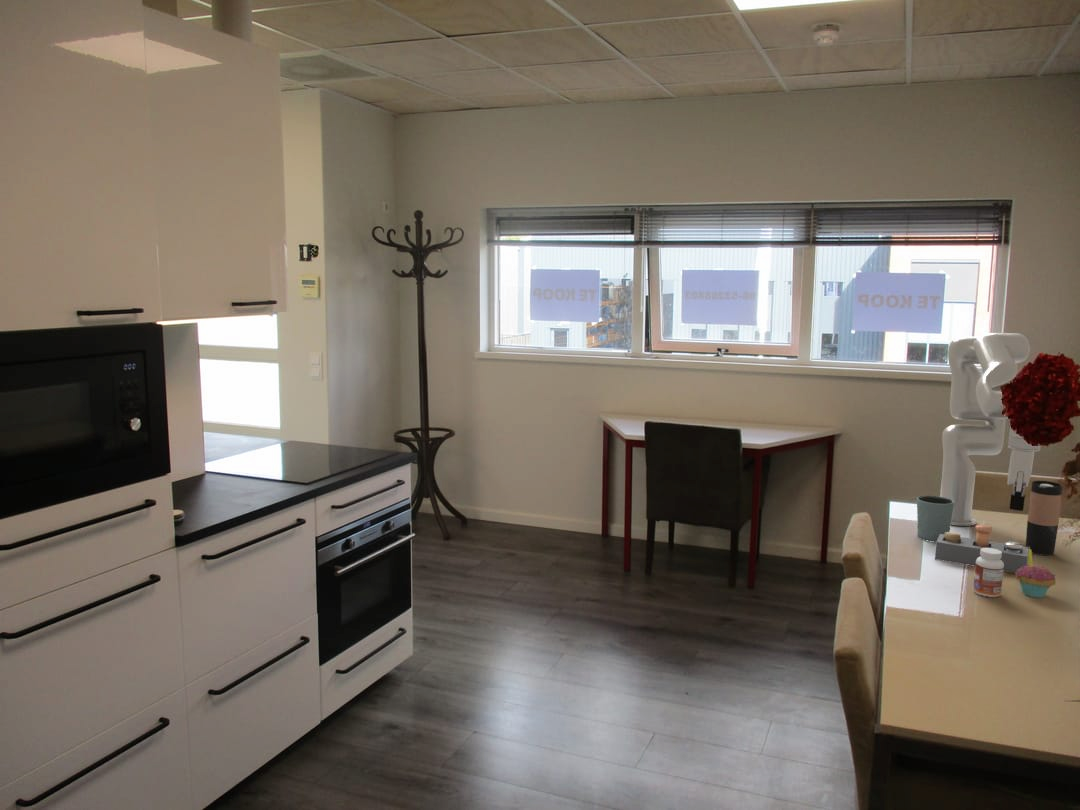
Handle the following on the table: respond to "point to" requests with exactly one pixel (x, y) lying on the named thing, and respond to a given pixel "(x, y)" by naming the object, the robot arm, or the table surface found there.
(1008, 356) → the robot arm
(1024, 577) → the cupcake
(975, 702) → the table surface
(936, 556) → the socket block
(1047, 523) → the travel mug
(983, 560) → the pill bottle
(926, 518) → the green tapered cup
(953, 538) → the oak plug
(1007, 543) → the aluminium plug
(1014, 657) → the table surface
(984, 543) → the terracotta plug
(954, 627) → the table surface
